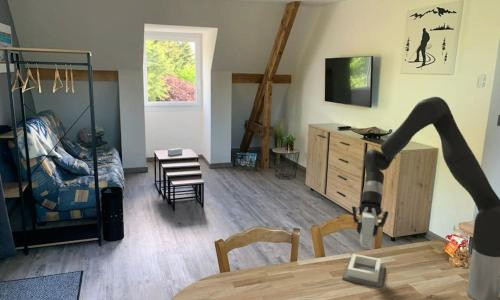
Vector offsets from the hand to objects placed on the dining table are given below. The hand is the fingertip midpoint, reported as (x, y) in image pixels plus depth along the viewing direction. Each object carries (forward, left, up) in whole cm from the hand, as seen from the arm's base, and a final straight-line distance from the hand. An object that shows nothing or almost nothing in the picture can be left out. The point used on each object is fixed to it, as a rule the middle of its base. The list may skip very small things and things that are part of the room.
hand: (366, 234), depth 145 cm
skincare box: (0, -3, -5) cm, 6 cm away
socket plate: (0, -2, -17) cm, 17 cm away
